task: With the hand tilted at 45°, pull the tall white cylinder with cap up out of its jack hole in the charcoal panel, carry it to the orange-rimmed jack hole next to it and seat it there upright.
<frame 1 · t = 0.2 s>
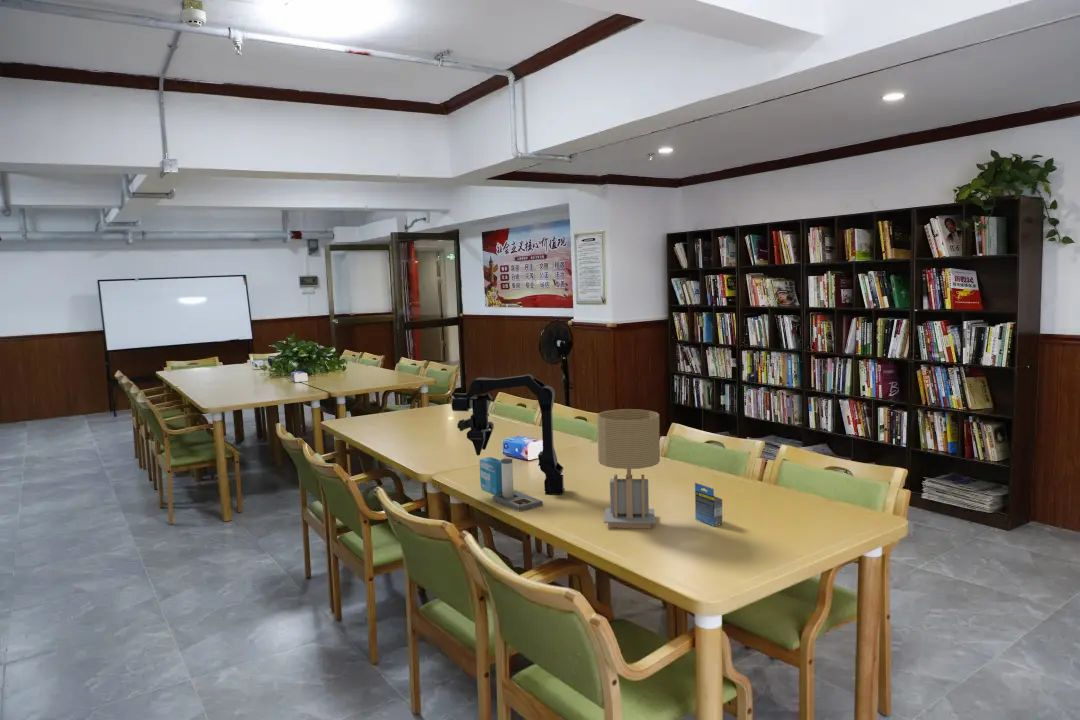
hand: (481, 452, 268), 15 cm above the table, tool pointing down, fingers open, 9 cm apart
label tape cartridge: (708, 522, 228), on the table
white cylinder with cap: (508, 500, 258), resting in jack panel
desk lamp: (629, 522, 231), on the table
jack panel: (517, 502, 255), on the table
blue box: (493, 491, 270), on the table
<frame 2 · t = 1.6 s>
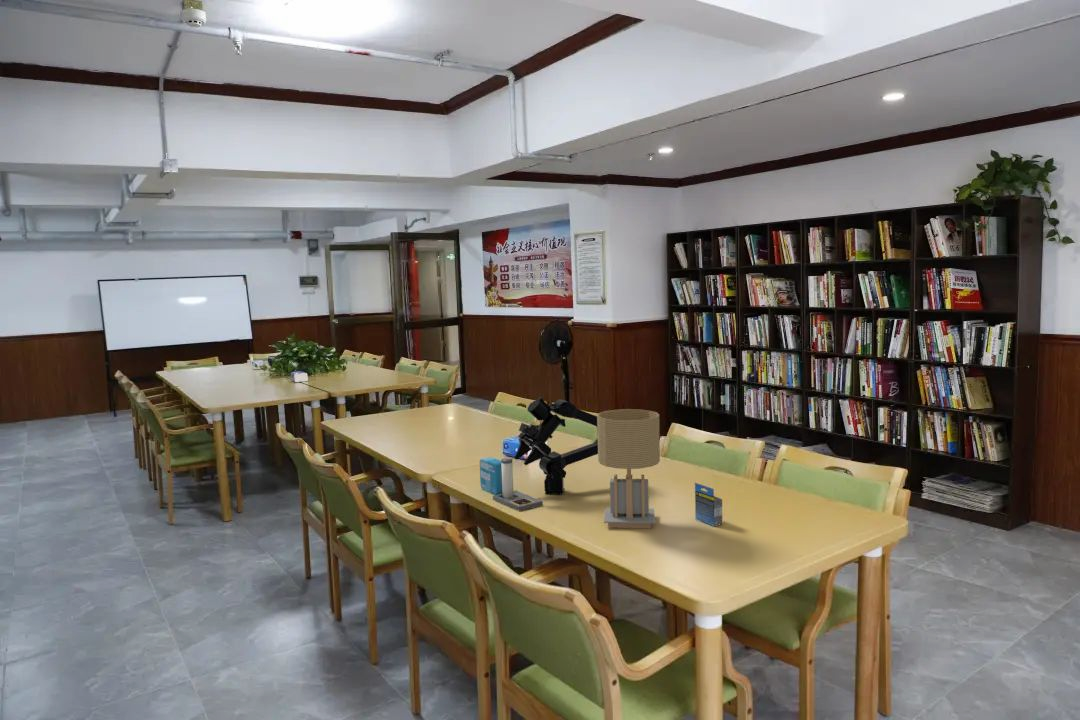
hand: (520, 461, 259), 13 cm above the table, tool tilted 45°, fingers open, 9 cm apart
nothing on the table moved.
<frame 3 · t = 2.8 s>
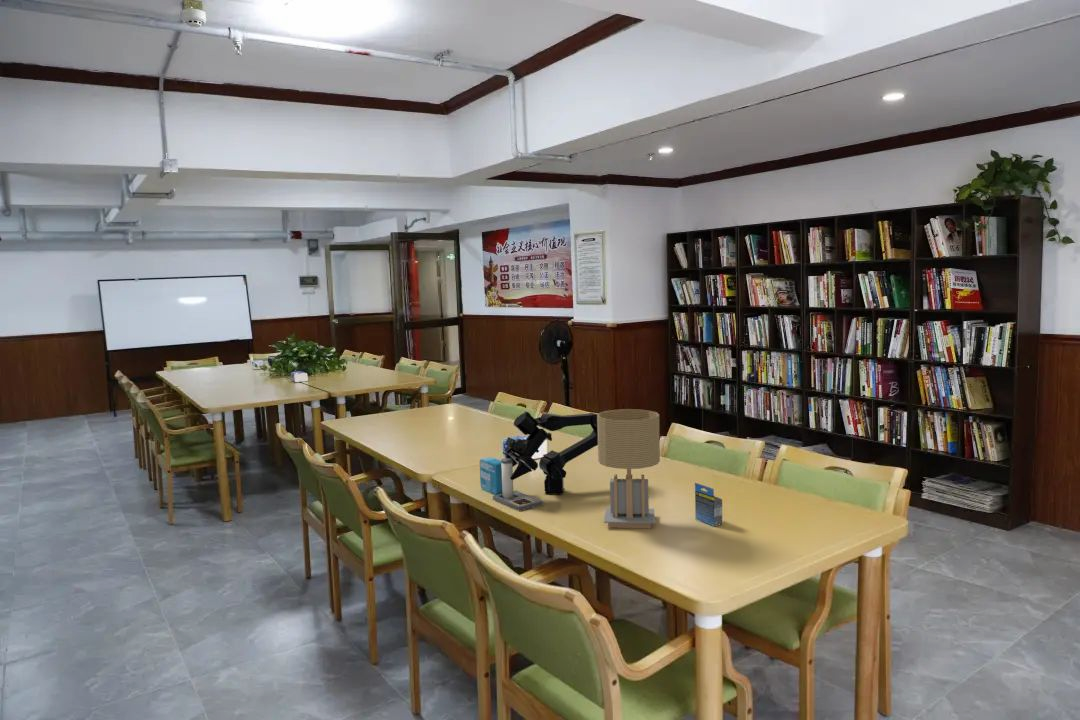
hand: (506, 476, 257), 9 cm above the table, tool tilted 45°, fingers open, 9 cm apart
nothing on the table moved.
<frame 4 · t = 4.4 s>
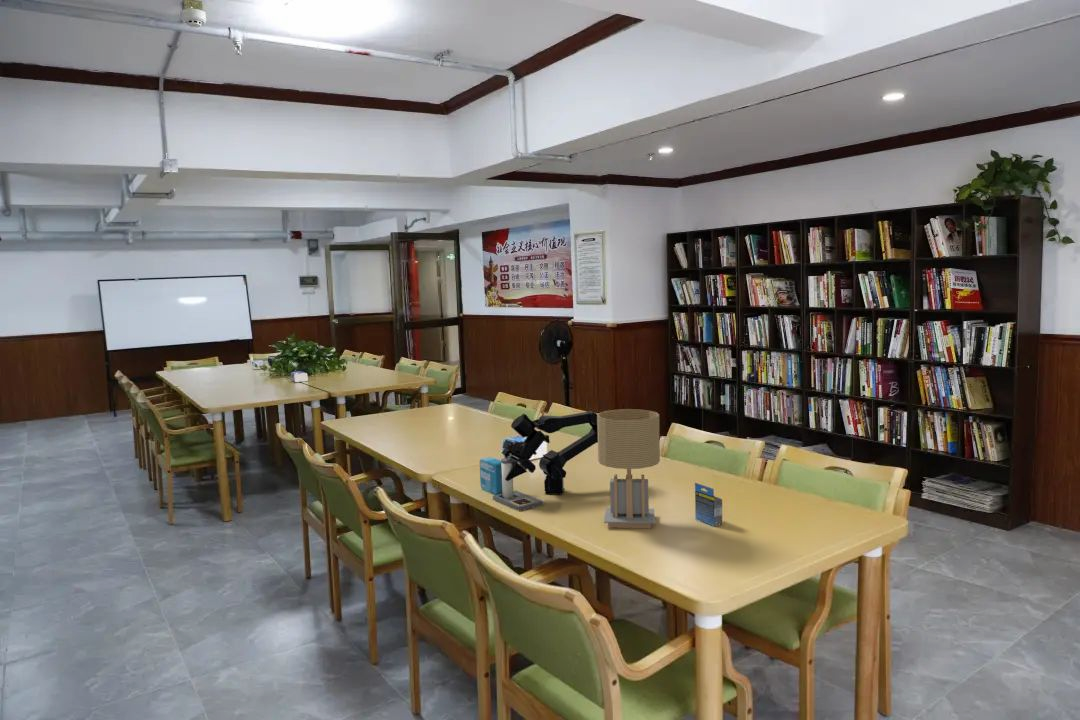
hand: (503, 478, 256), 8 cm above the table, tool tilted 45°, fingers closed on white cylinder with cap, 4 cm apart
white cylinder with cap: (508, 500, 258), resting in jack panel, touching gripper
everything else where it was.
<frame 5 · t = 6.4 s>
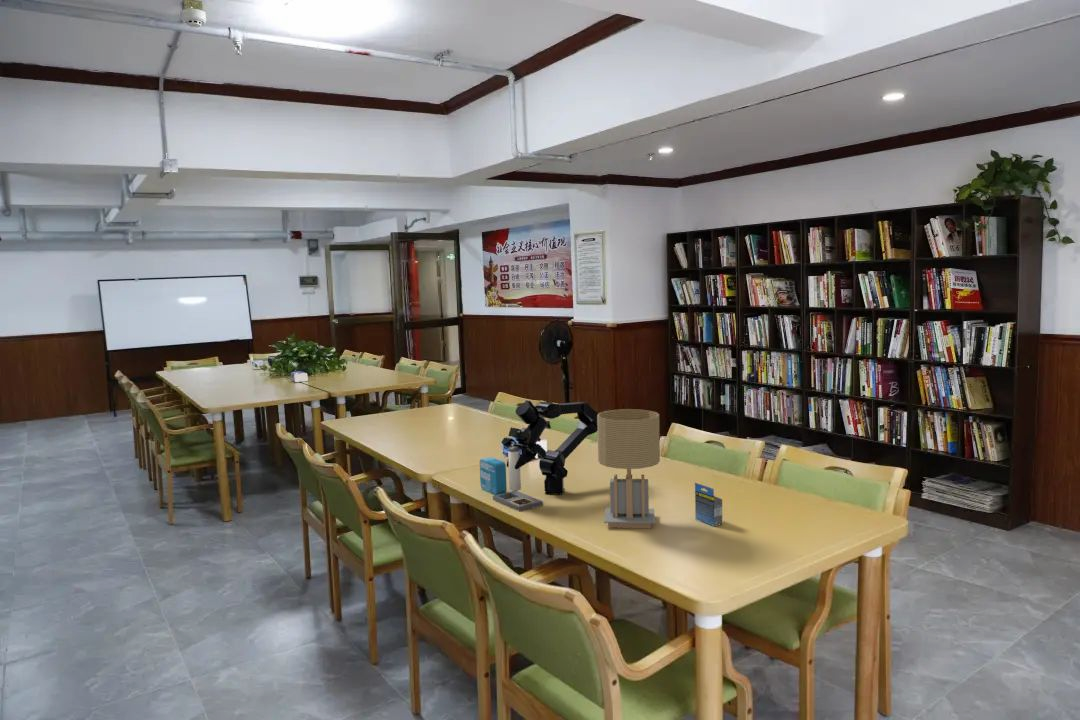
hand: (511, 467, 250), 13 cm above the table, tool tilted 45°, fingers closed on white cylinder with cap, 4 cm apart
white cylinder with cap: (515, 489, 252), point 5 cm above the table, touching gripper
everything else where it was.
when the fingers open (9 cm above the table, at t = 8.6 s): white cylinder with cap stays where it is, resting in jack panel.
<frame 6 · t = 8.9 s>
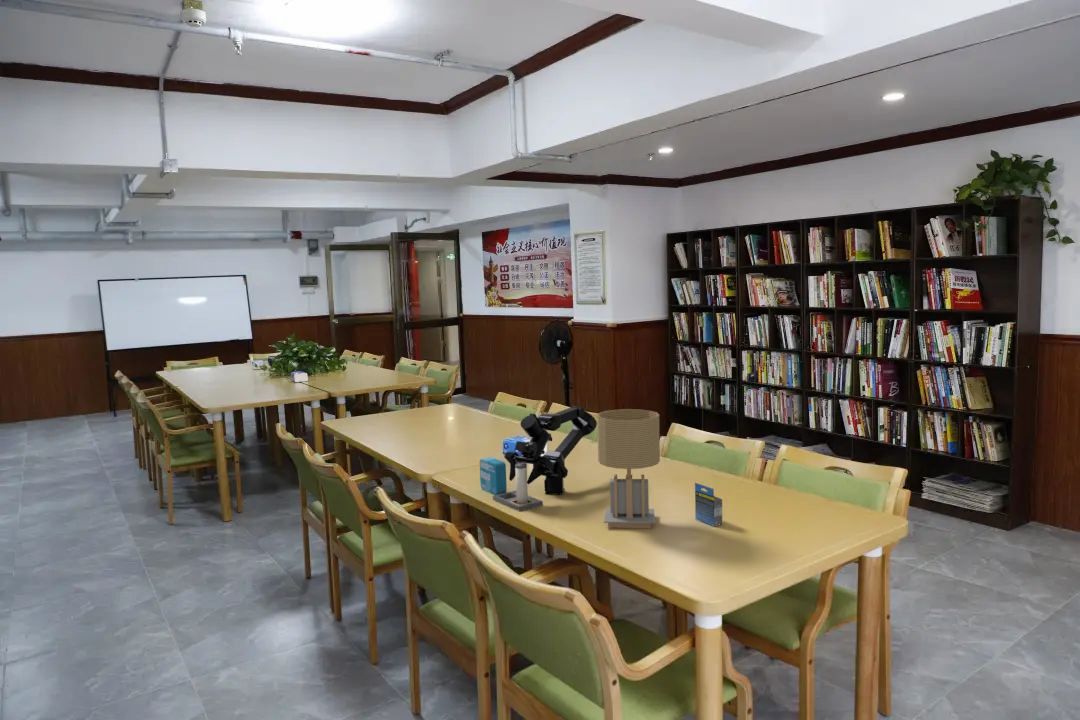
hand: (518, 481, 248), 9 cm above the table, tool tilted 45°, fingers open, 8 cm apart
white cylinder with cap: (522, 506, 250), resting in jack panel
everything else where it was.
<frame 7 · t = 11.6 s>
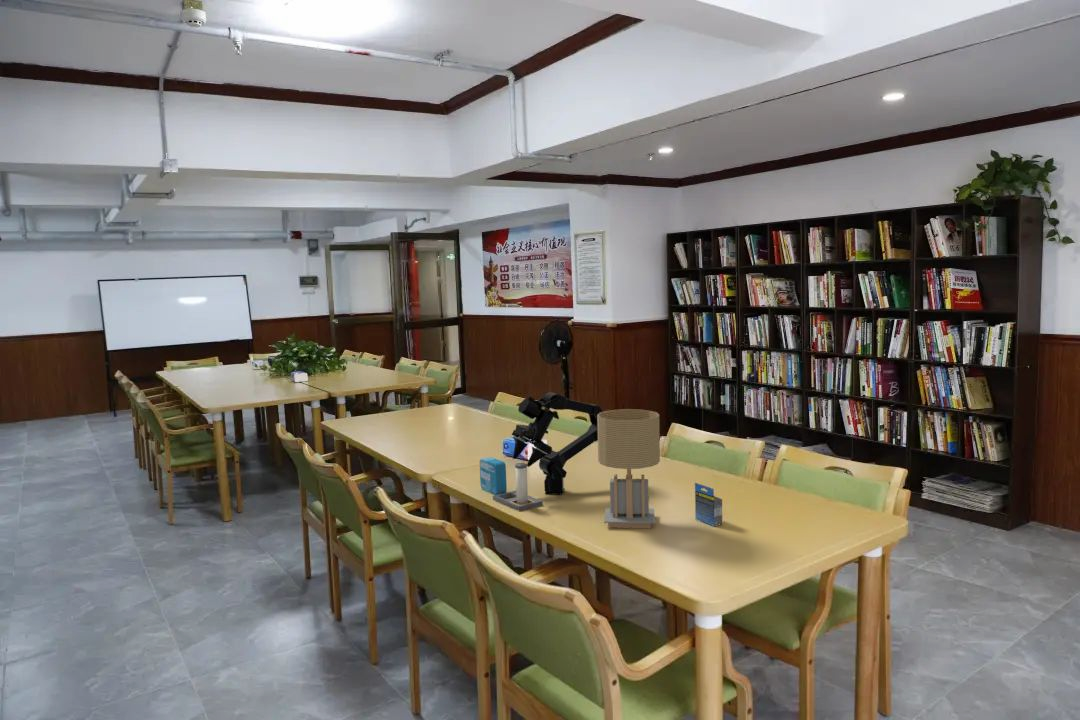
hand: (520, 462, 259), 13 cm above the table, tool tilted 35°, fingers open, 9 cm apart
nothing on the table moved.
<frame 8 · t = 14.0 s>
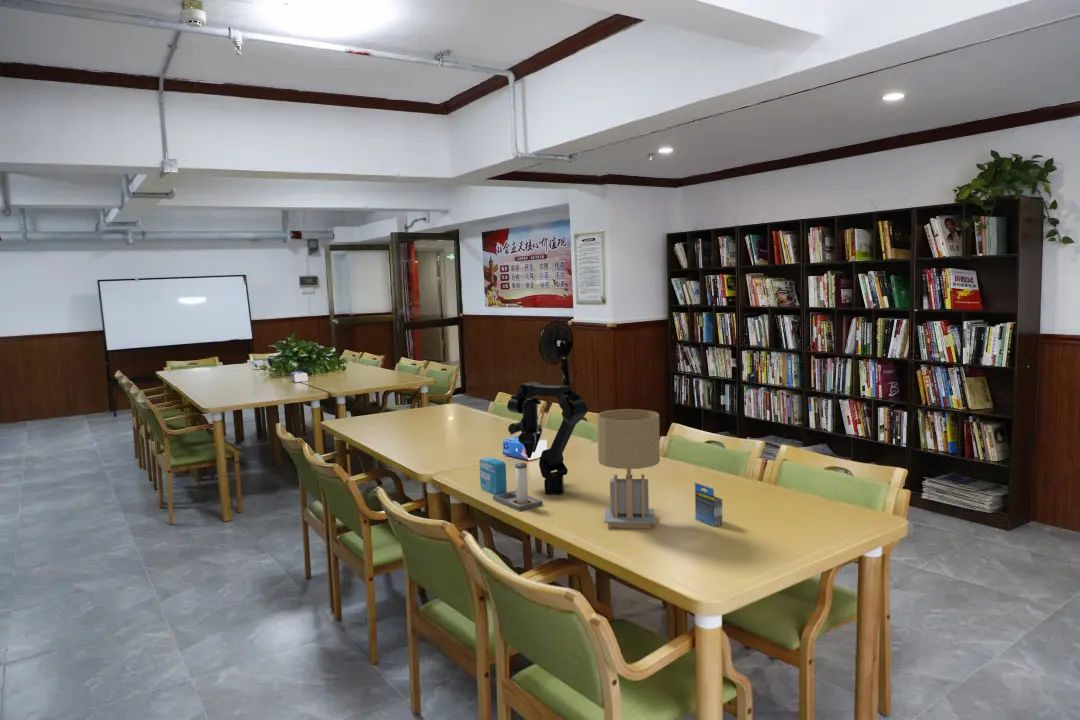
hand: (531, 455, 274), 12 cm above the table, tool pointing down, fingers open, 9 cm apart
nothing on the table moved.
at the end: white cylinder with cap 0.0 cm from the target spot, resting in jack panel; white cylinder with cap tilted 0°; the gripper is holding nothing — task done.
